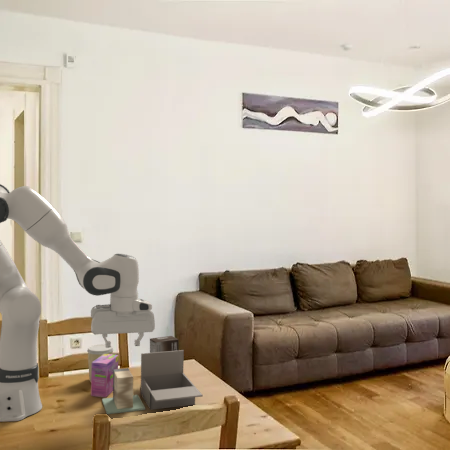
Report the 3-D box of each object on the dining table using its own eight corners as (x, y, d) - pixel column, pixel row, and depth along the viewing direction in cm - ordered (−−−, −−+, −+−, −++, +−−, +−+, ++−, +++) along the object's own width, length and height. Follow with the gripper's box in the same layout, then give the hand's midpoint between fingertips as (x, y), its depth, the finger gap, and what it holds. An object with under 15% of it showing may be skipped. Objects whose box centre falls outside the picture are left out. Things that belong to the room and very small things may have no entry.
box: (106, 397, 183) (106, 363, 183) (90, 396, 184) (90, 362, 184) (118, 387, 193) (118, 354, 193) (103, 386, 195) (103, 353, 194)
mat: (106, 414, 169) (107, 412, 169) (102, 400, 181) (102, 398, 181) (145, 409, 174) (145, 407, 174) (137, 396, 185) (137, 394, 185)
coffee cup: (109, 384, 196) (110, 351, 196) (84, 383, 197) (84, 351, 196) (115, 375, 206) (115, 344, 205) (90, 375, 206) (91, 344, 205)
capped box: (117, 409, 172) (117, 378, 172) (113, 399, 180) (113, 369, 180) (132, 407, 174) (133, 376, 173) (128, 397, 182) (128, 368, 182)
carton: (155, 419, 166) (156, 374, 165) (140, 393, 188) (141, 353, 187) (202, 413, 171) (203, 369, 171) (182, 389, 193) (183, 350, 192)
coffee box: (171, 377, 205) (172, 335, 204) (179, 382, 200) (179, 339, 199) (149, 381, 201) (149, 338, 200) (155, 386, 195) (156, 342, 194)
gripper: (92, 306, 169) (90, 350, 169) (156, 305, 176) (155, 347, 177) (90, 303, 175) (88, 345, 175) (152, 301, 182) (151, 342, 182)
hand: (122, 346), depth 176 cm, fingers open, 8 cm apart
